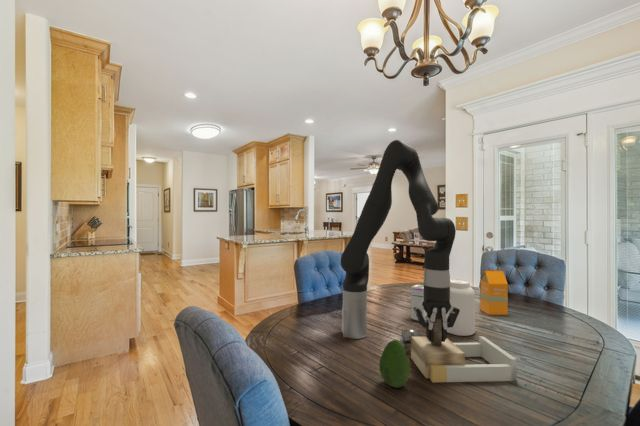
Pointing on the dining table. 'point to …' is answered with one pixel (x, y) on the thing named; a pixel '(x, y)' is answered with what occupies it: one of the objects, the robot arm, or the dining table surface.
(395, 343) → the avocado
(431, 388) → the dining table surface
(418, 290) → the syrup box
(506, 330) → the dining table surface
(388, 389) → the dining table surface
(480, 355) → the frame
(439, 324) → the box with grey peg
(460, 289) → the white plastic bottle
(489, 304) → the orange juice
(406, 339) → the drum
